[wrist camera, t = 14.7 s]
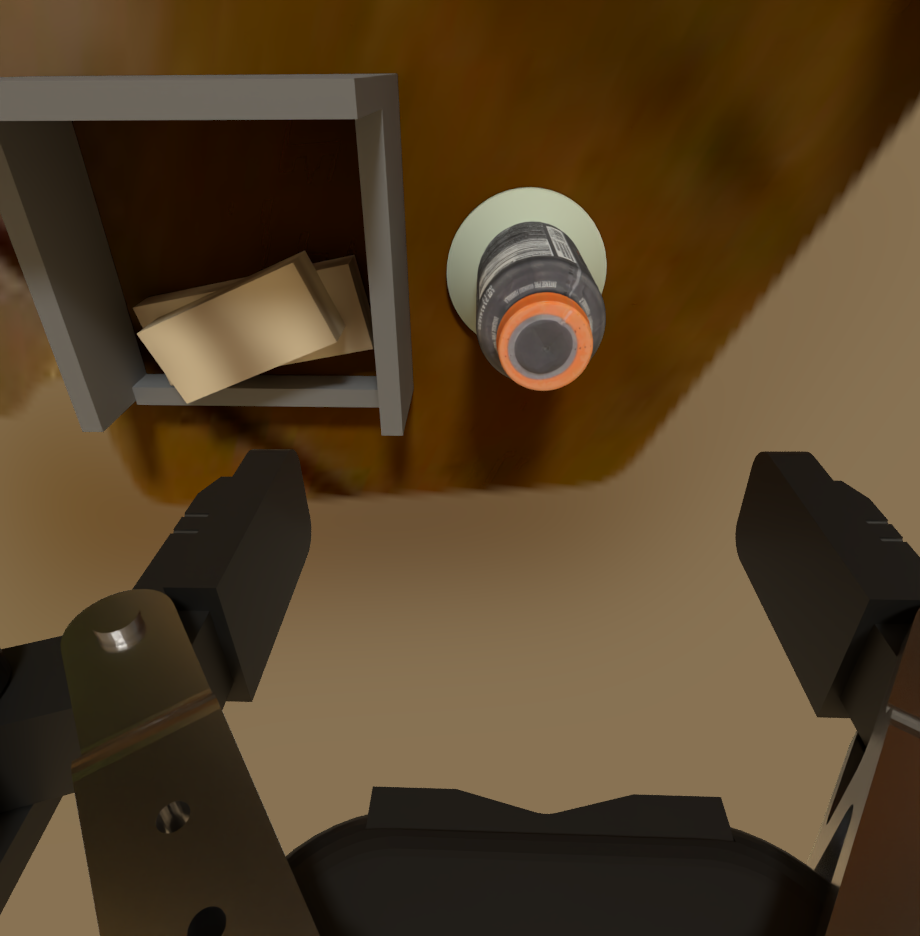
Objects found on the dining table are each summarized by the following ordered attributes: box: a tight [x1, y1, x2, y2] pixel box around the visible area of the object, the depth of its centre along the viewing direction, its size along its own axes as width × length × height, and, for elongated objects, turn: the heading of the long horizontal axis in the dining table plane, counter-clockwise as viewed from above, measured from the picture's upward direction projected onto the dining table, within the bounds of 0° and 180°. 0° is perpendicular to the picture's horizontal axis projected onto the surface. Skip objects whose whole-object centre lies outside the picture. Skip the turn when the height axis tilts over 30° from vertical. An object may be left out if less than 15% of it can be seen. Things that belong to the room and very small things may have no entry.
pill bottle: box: [476, 221, 606, 391], centre depth 31 cm, size 6×6×11 cm
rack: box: [0, 74, 413, 436], centre depth 31 cm, size 18×18×12 cm
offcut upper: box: [137, 251, 346, 404], centre depth 36 cm, size 10×5×2 cm, turn 113°
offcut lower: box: [133, 255, 374, 386], centre depth 38 cm, size 13×5×2 cm, turn 101°
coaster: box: [447, 187, 607, 334], centre depth 36 cm, size 9×9×1 cm
